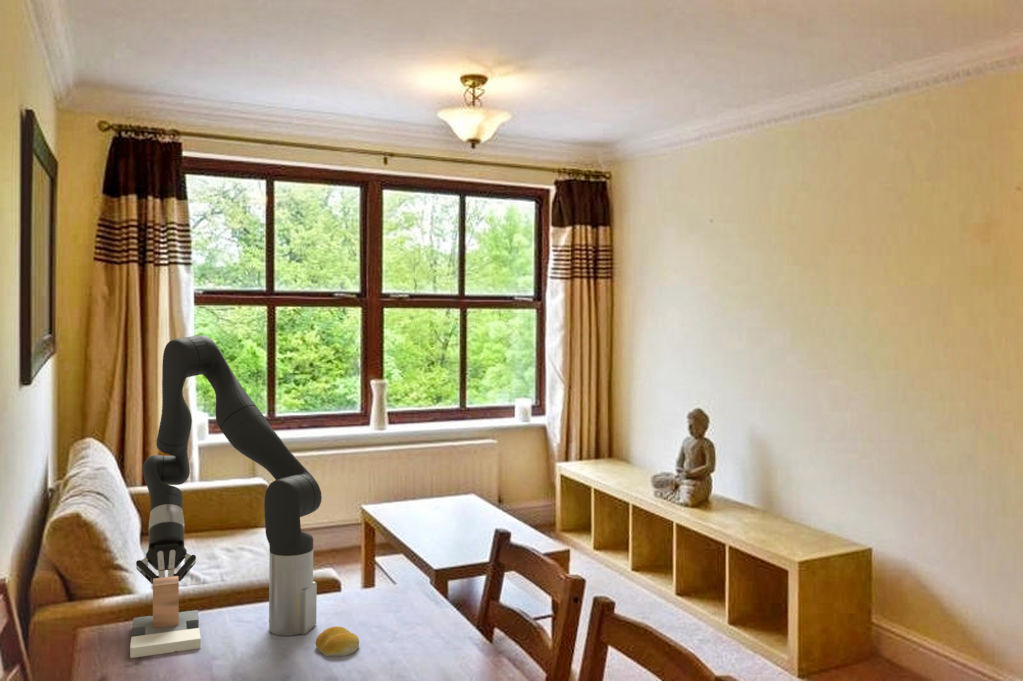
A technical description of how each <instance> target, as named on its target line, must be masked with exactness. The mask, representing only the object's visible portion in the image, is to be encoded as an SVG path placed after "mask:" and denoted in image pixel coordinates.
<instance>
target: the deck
mask: <svg viewBox="0 0 1023 681" xmlns="http://www.w3.org/2000/svg"><path fill="white" fill-rule="evenodd" d="M199 619H200V618H199V610H198V609H196V610H195V609H194V610H187V611H179V625H174V626H167V627H159V628H153V615H148V616H146V615H145V616H139V617H133V619H132V625H131V626H132V628H131V629H132V630H131V632H132V633H131V634H132V636H131V637H134V636H142V635H149V634H157V633H164V632H172V631H179V630H187V629H194V628H200V627H199V626H200V625H199V622H200V621H199Z"/></svg>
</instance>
